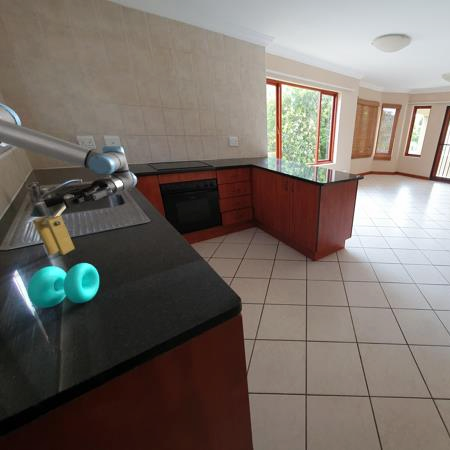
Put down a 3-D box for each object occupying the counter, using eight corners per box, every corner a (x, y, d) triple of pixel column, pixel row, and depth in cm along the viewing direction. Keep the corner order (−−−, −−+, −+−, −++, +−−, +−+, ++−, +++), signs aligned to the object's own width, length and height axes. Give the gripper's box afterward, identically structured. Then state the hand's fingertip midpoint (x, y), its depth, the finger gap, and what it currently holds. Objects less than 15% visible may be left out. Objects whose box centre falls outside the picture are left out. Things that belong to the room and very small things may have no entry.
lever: (71, 199, 86) (64, 192, 84) (80, 199, 87) (73, 192, 84) (45, 229, 78) (36, 223, 75) (56, 229, 78) (47, 223, 75)
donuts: (63, 290, 65) (48, 259, 61) (105, 285, 67) (93, 255, 63) (35, 317, 56) (16, 283, 52) (85, 310, 58) (70, 277, 54)
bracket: (64, 247, 87) (49, 212, 81) (87, 247, 87) (73, 212, 81) (37, 262, 77) (17, 224, 72) (62, 262, 77) (44, 224, 72)
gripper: (81, 177, 99) (22, 192, 78) (126, 178, 99) (80, 193, 78) (87, 195, 102) (32, 214, 81) (131, 195, 102) (88, 214, 81)
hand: (56, 203), depth 79 cm, fingers open, 6 cm apart
